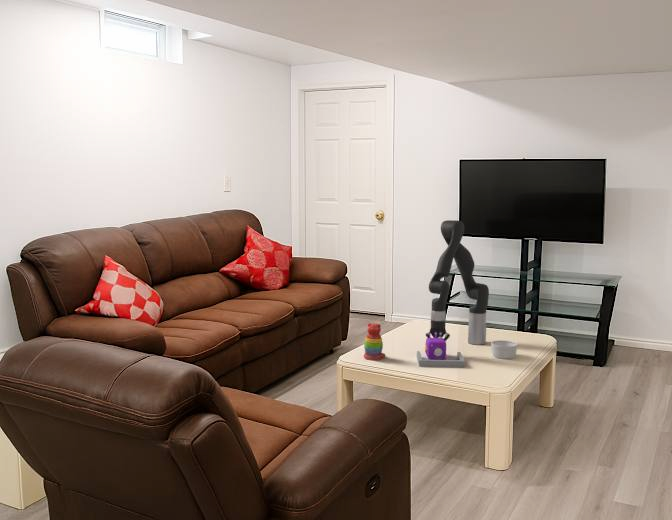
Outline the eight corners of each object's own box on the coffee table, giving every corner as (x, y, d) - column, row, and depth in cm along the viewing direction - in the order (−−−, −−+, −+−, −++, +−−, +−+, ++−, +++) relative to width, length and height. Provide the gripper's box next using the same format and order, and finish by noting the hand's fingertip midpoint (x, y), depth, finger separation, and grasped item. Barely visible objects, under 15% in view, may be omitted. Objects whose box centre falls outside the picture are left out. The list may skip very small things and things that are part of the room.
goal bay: (460, 357, 356) (460, 352, 356) (464, 367, 340) (464, 361, 339) (416, 356, 357) (416, 351, 357) (419, 366, 341) (419, 360, 340)
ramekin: (499, 351, 369) (500, 338, 368) (522, 356, 360) (522, 343, 359) (485, 356, 360) (486, 343, 359) (508, 361, 351) (508, 348, 350)
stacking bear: (386, 356, 358) (387, 322, 356) (381, 361, 349) (381, 326, 346) (366, 354, 362) (366, 320, 359) (360, 359, 352) (360, 324, 350)
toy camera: (430, 362, 347) (431, 343, 346) (421, 355, 360) (422, 336, 359) (451, 361, 349) (452, 342, 348) (441, 354, 363) (442, 335, 361)
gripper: (450, 317, 363) (449, 349, 365) (424, 316, 364) (423, 349, 366) (452, 320, 355) (451, 353, 358) (425, 320, 356) (424, 353, 359)
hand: (437, 351), depth 362 cm, fingers closed
